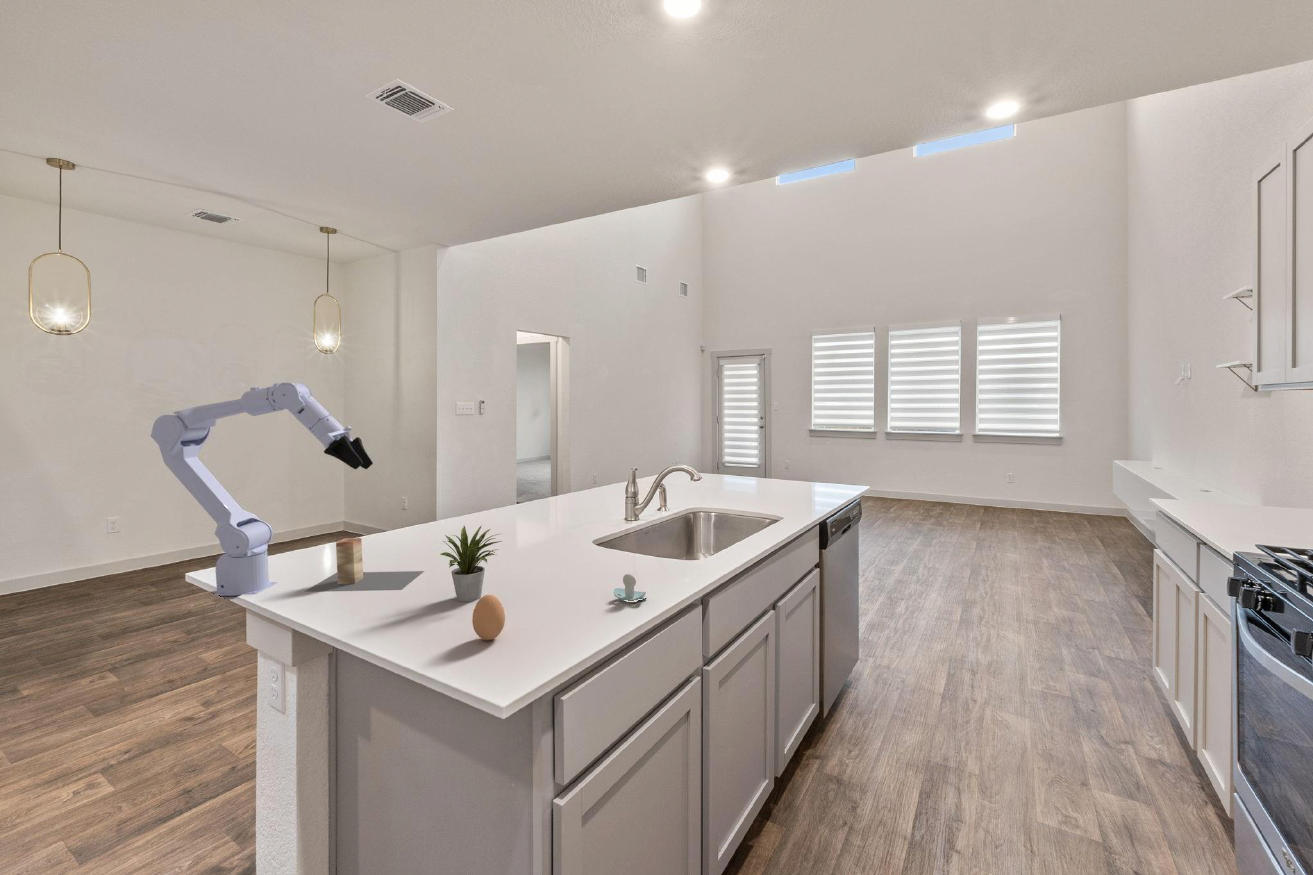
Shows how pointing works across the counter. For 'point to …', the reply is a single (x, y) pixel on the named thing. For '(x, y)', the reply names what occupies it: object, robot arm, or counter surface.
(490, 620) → the egg
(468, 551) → the house plant
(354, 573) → the long block
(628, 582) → the pacifier
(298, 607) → the counter surface
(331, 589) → the rubber mat
